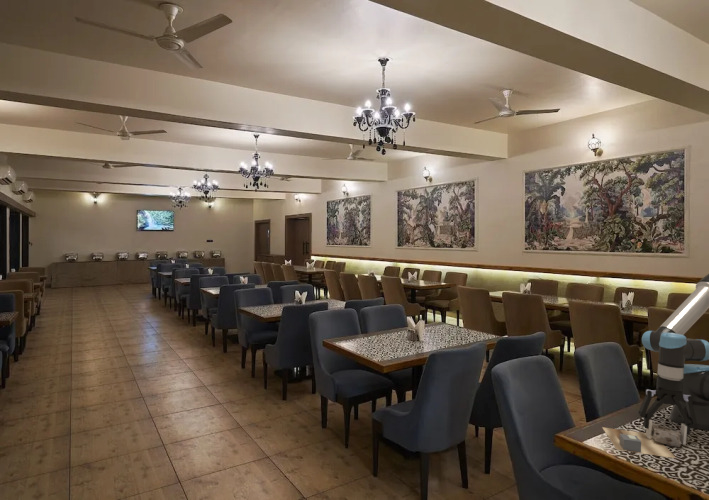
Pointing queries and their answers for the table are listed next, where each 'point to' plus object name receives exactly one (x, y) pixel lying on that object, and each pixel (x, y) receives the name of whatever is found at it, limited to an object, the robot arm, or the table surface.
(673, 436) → the stone
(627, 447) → the block
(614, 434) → the subfloor panel
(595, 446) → the table surface
